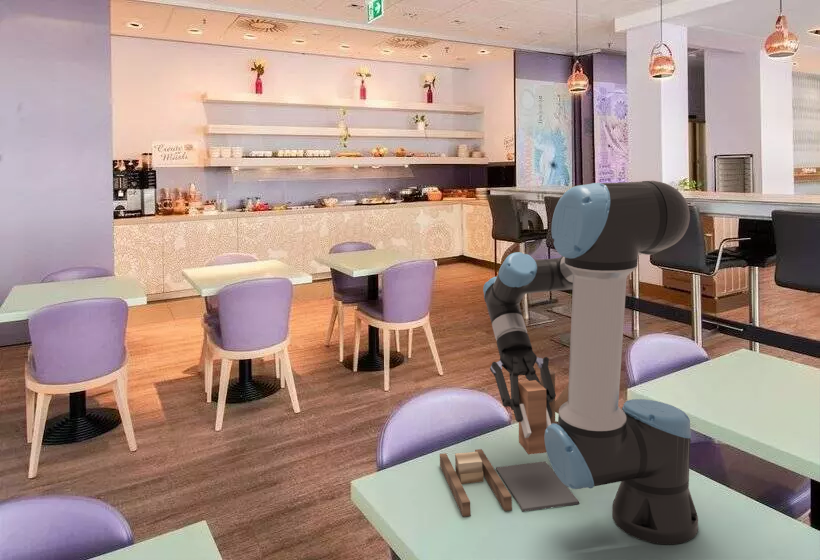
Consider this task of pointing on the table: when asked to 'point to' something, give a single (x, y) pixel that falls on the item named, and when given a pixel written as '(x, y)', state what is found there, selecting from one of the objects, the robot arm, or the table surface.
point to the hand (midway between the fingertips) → (538, 434)
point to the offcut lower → (469, 477)
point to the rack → (489, 475)
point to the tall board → (533, 416)
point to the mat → (536, 486)
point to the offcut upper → (468, 462)
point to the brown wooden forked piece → (560, 400)
